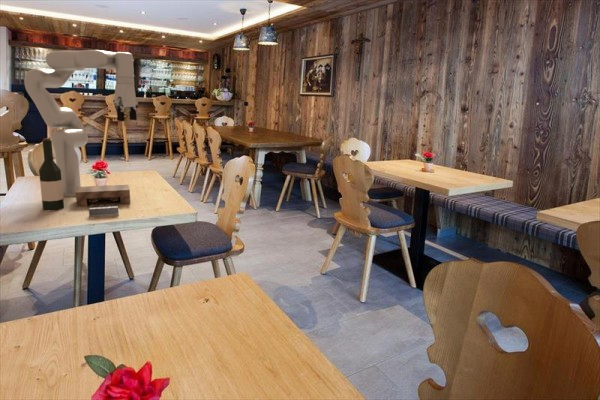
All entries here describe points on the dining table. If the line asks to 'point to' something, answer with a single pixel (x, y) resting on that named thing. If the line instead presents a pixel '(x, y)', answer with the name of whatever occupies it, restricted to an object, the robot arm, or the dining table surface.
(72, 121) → the robot arm
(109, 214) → the tray
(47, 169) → the wine bottle
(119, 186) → the shelf
